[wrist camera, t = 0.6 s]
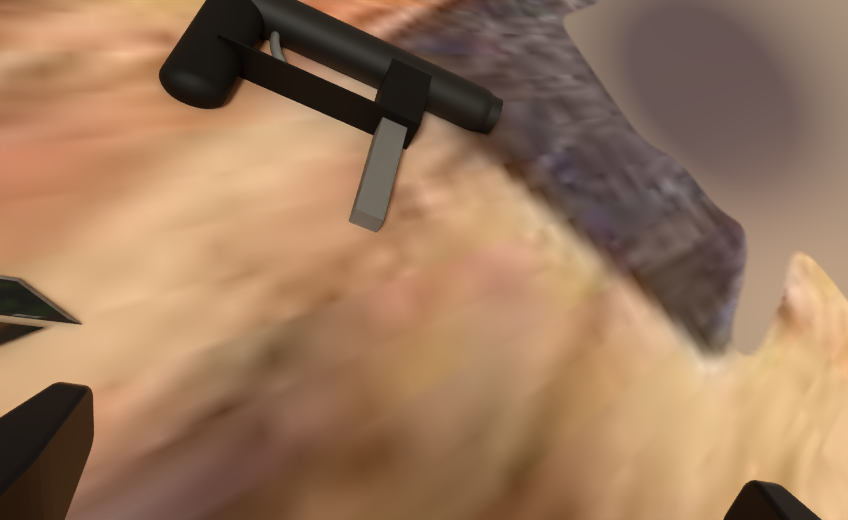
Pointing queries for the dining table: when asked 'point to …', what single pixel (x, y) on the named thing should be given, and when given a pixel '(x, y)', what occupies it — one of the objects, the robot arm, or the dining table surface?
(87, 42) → the dining table surface
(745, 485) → the robot arm
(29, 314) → the knife
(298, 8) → the door handle
